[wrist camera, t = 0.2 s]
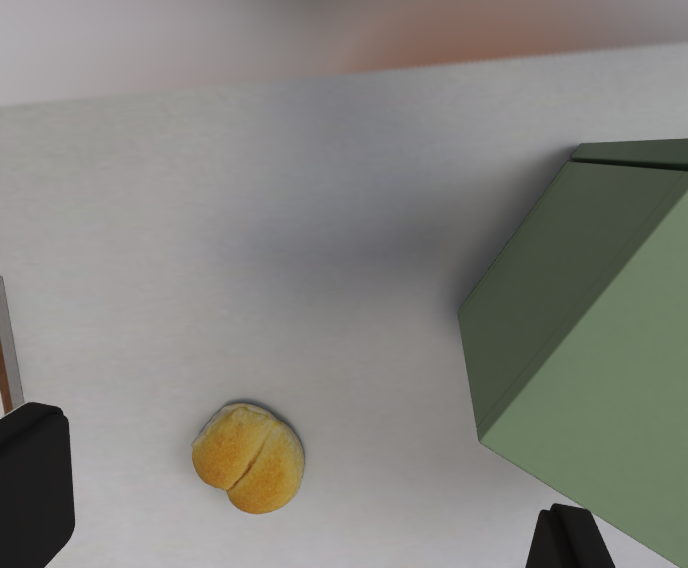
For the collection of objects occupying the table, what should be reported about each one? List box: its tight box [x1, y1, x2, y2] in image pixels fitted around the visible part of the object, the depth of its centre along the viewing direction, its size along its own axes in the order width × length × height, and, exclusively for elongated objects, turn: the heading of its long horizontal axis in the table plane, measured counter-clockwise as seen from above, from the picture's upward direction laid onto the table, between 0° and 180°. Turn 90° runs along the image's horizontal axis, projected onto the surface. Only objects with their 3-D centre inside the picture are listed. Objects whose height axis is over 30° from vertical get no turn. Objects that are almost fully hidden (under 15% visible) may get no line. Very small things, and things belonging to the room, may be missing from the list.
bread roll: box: [192, 403, 305, 514], centre depth 38 cm, size 8×9×4 cm
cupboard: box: [457, 161, 688, 568], centre depth 25 cm, size 12×18×16 cm, turn 59°
